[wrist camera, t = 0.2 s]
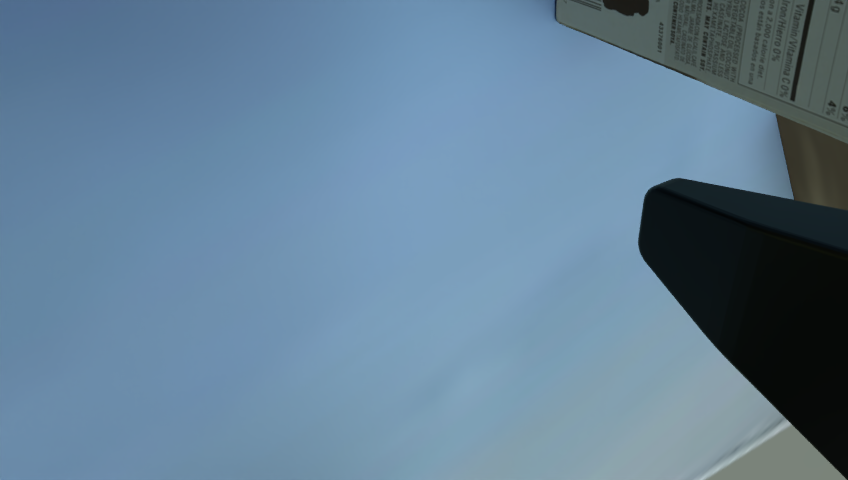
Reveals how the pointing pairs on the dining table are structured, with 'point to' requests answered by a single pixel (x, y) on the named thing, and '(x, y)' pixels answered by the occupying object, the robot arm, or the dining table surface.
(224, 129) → the dining table surface
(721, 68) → the coffee box
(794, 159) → the dot tablet
